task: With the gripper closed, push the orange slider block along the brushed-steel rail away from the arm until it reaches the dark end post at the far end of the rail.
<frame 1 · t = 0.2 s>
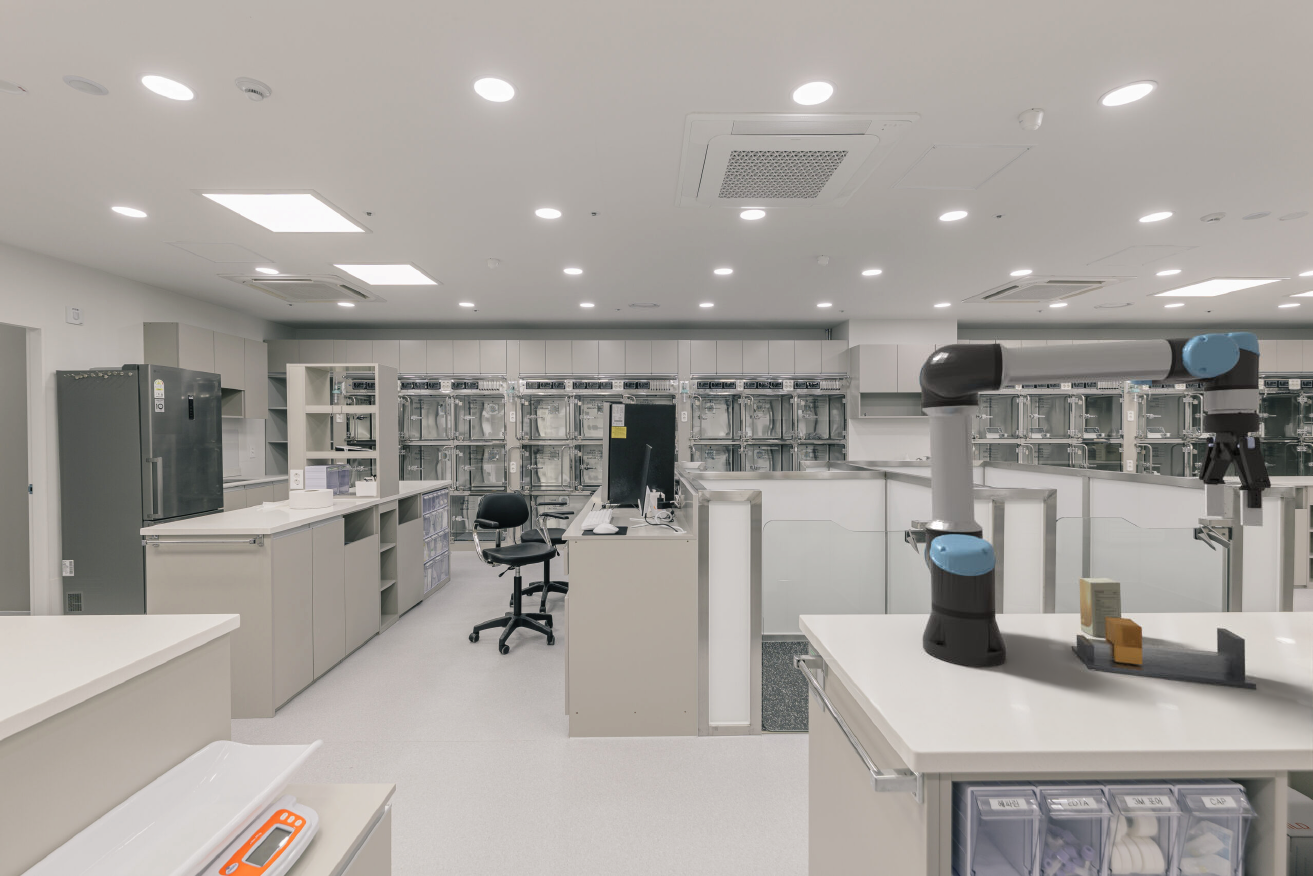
hand: (1232, 520, 108), 28 cm above the worktop, fingers open, 13 cm apart
skincare box: (1100, 634, 124), on the worktop
orange slider block: (1123, 640, 108), point 5 cm above the worktop, slide at 0.0 cm
rail: (1156, 668, 106), on the worktop
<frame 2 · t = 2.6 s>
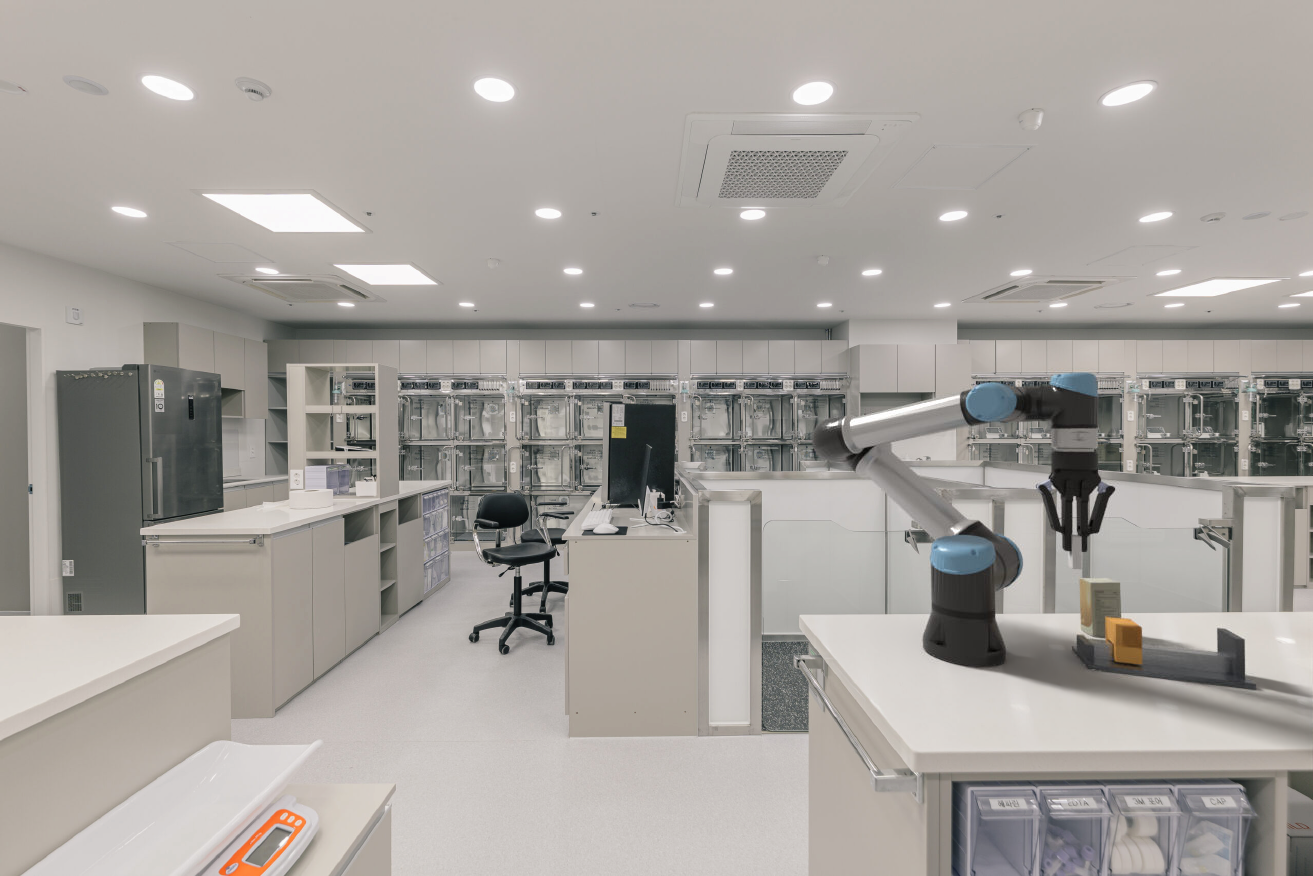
hand: (1074, 567, 111), 18 cm above the worktop, fingers closed
nothing on the worktop moved.
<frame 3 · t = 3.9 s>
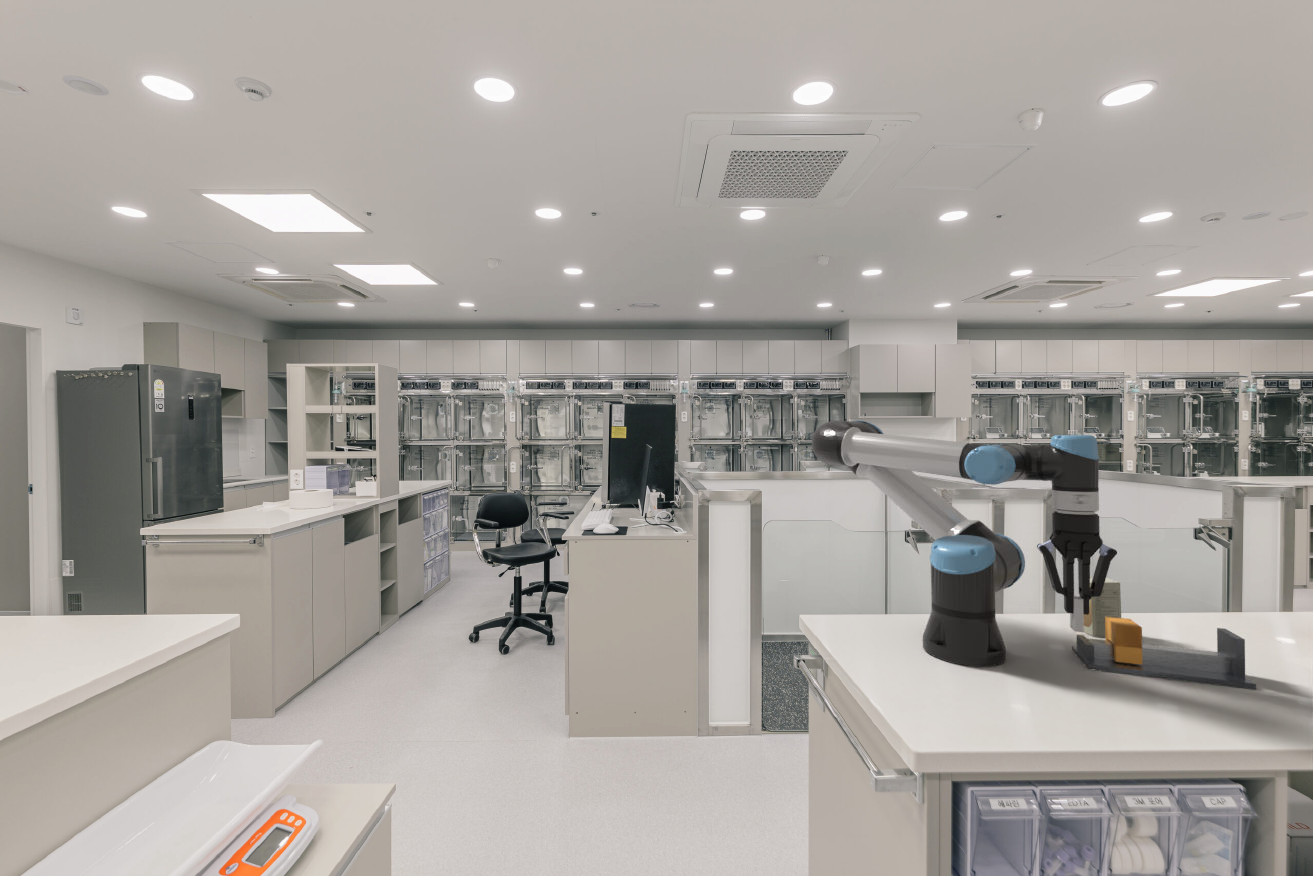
hand: (1076, 629, 110), 6 cm above the worktop, fingers closed
nothing on the worktop moved.
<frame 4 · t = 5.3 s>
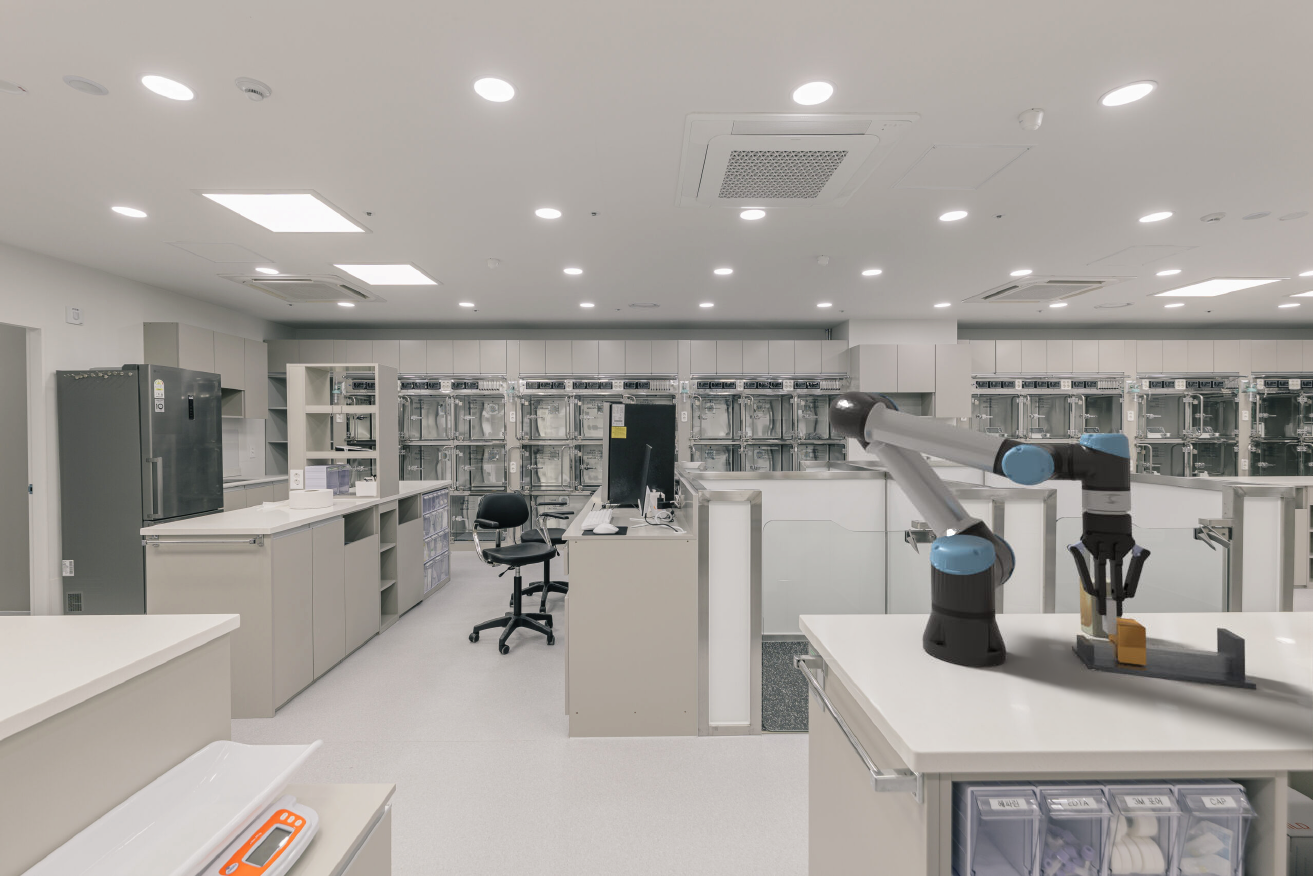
hand: (1109, 632, 108), 6 cm above the worktop, fingers closed
orange slider block: (1126, 640, 107), point 5 cm above the worktop, slide at 0.6 cm, touching gripper
everything else where it was.
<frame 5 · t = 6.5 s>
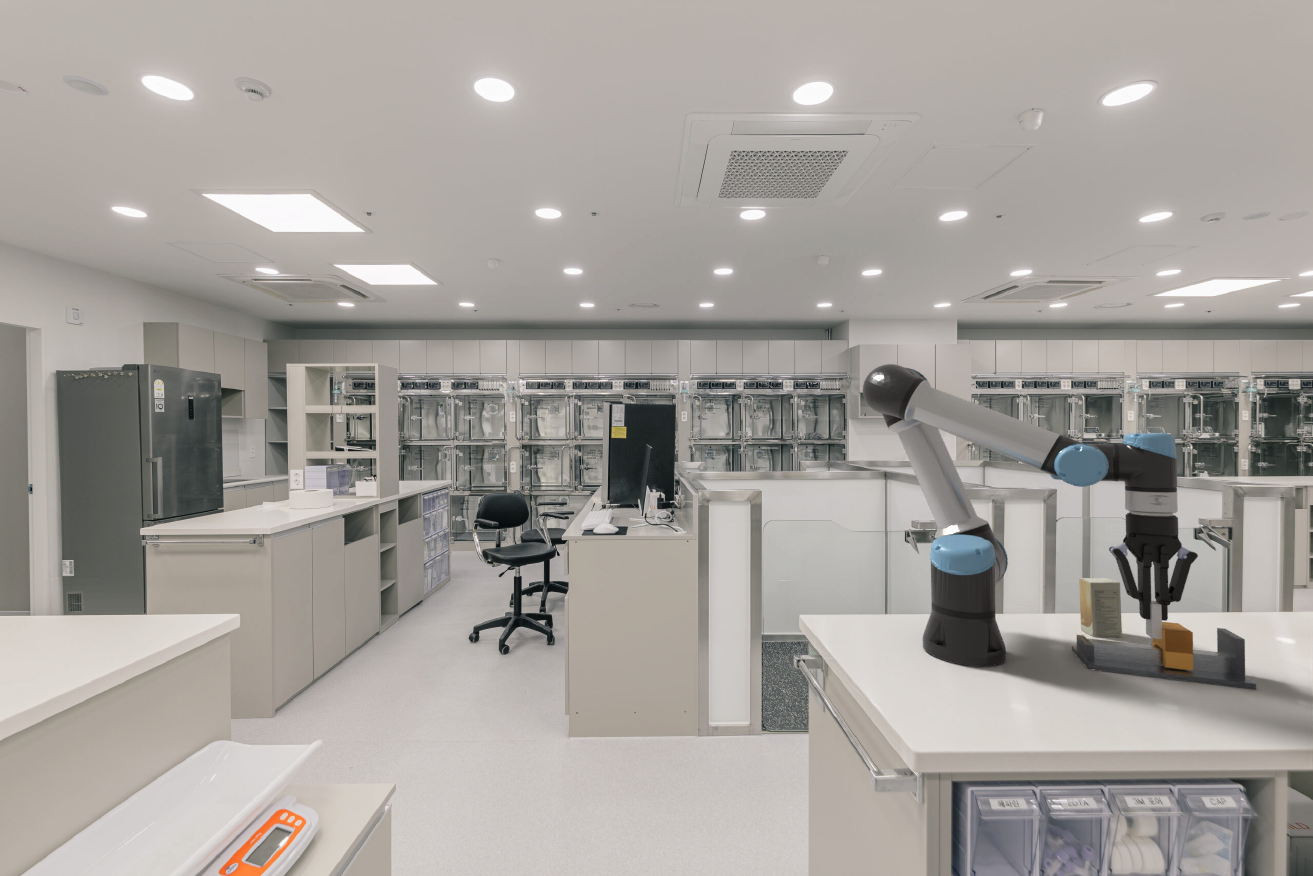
hand: (1154, 636, 106), 6 cm above the worktop, fingers closed
orange slider block: (1172, 645, 105), point 5 cm above the worktop, slide at 7.5 cm, touching gripper
everything else where it was.
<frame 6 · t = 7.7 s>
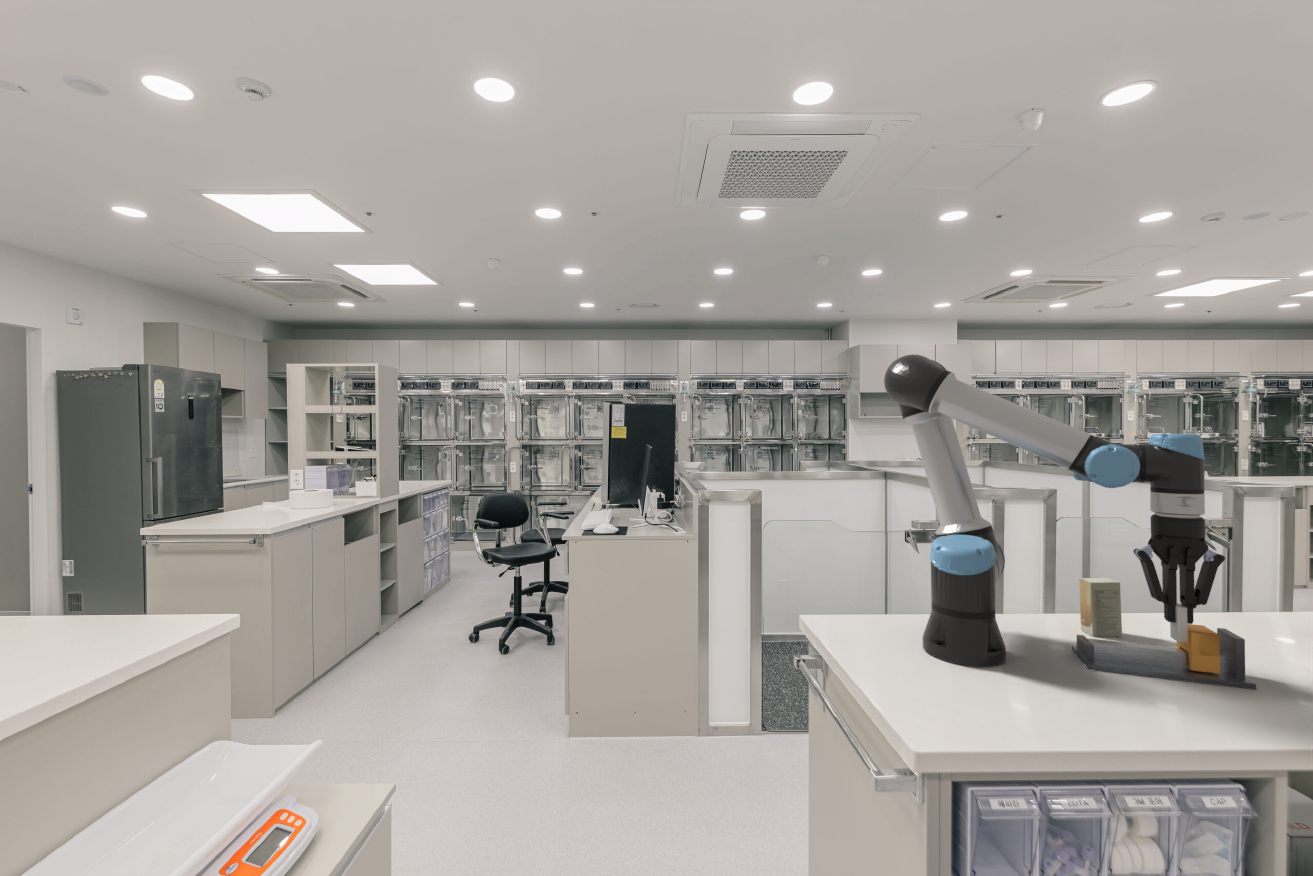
hand: (1178, 639, 104), 6 cm above the worktop, fingers closed
orange slider block: (1197, 647, 103), point 5 cm above the worktop, slide at 11.2 cm, touching gripper
everything else where it was.
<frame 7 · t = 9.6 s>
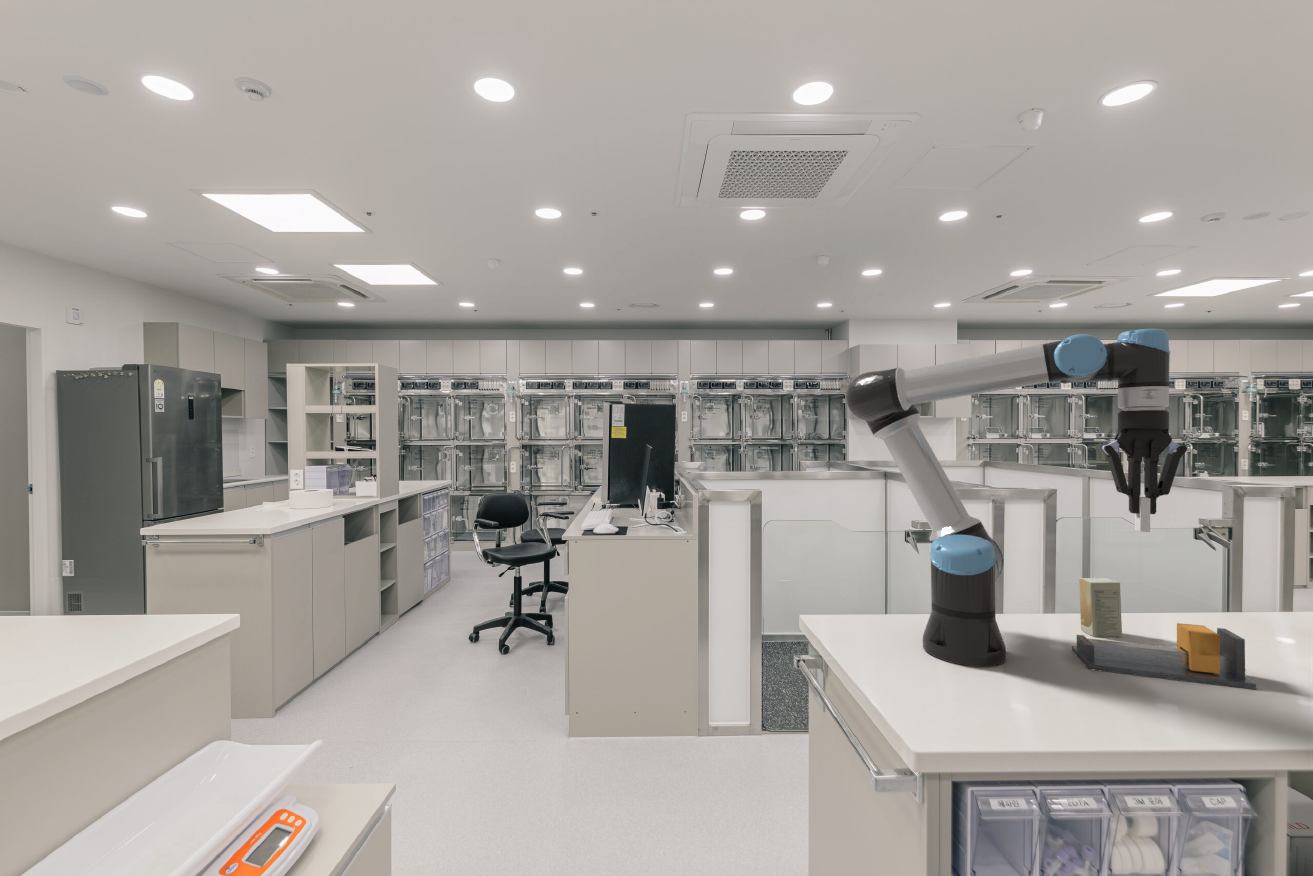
hand: (1142, 530, 108), 26 cm above the worktop, fingers closed
orange slider block: (1197, 647, 103), point 5 cm above the worktop, slide at 11.2 cm
everything else where it was.
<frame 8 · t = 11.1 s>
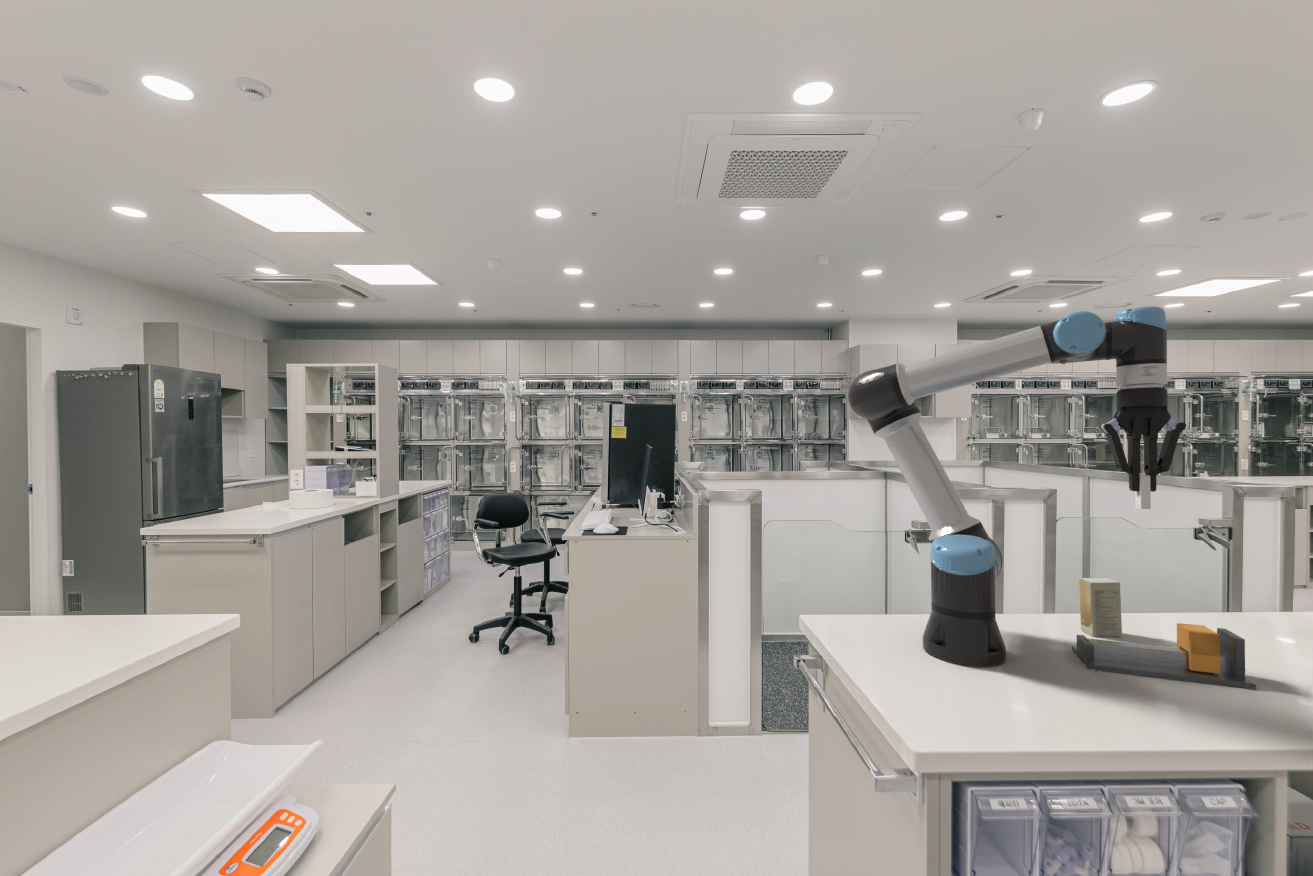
hand: (1142, 508, 108), 30 cm above the worktop, fingers closed
nothing on the worktop moved.
at the end: orange slider block slide at 11.2 cm; the gripper is holding nothing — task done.
